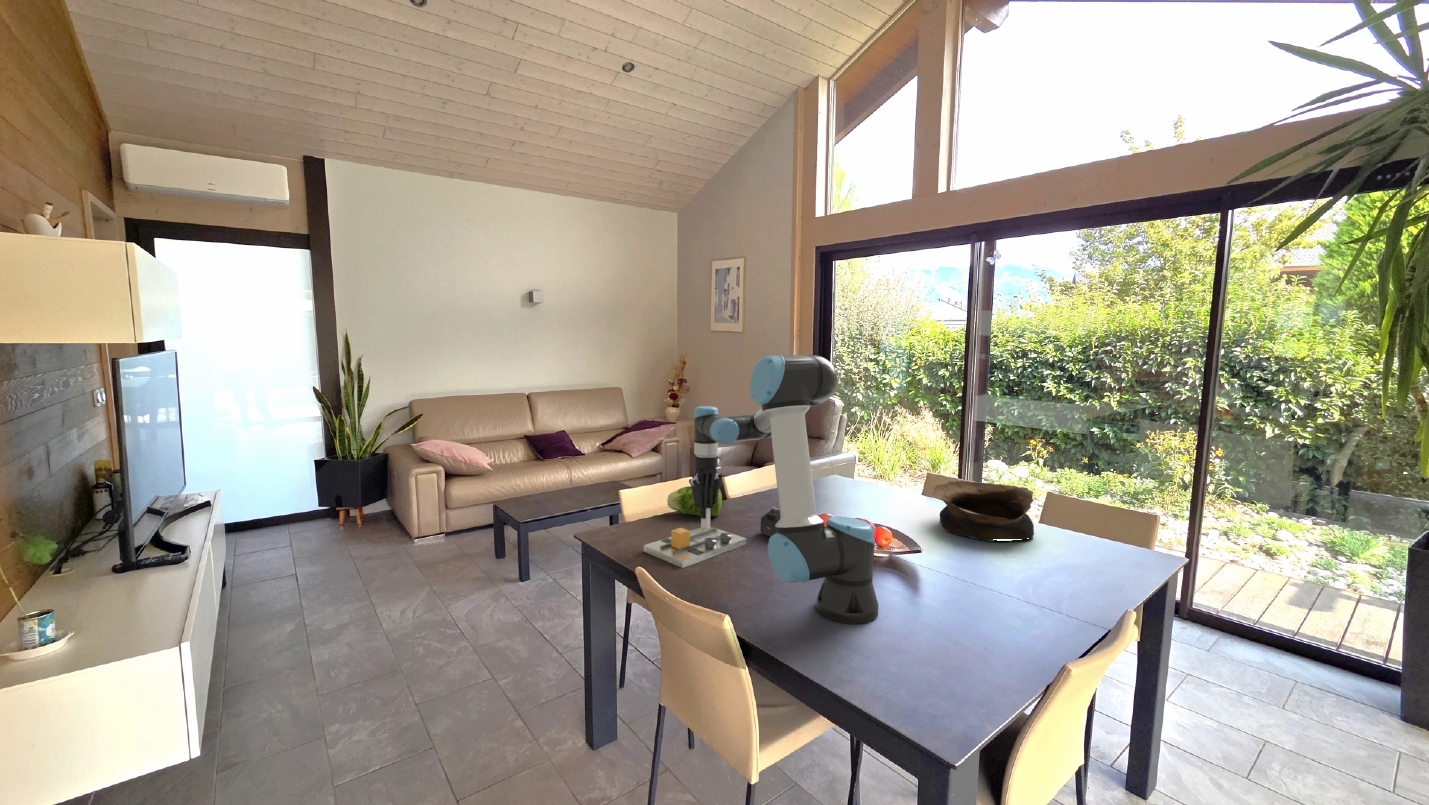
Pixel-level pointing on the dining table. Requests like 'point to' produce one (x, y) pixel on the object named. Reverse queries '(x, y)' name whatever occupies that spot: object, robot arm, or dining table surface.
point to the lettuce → (690, 502)
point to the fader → (680, 538)
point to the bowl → (986, 510)
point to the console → (696, 546)
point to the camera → (770, 521)
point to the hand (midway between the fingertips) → (705, 527)
